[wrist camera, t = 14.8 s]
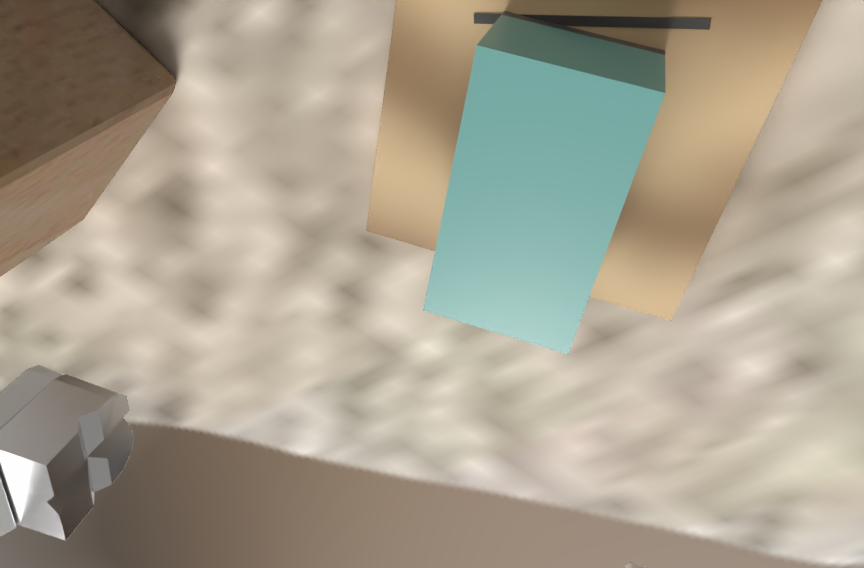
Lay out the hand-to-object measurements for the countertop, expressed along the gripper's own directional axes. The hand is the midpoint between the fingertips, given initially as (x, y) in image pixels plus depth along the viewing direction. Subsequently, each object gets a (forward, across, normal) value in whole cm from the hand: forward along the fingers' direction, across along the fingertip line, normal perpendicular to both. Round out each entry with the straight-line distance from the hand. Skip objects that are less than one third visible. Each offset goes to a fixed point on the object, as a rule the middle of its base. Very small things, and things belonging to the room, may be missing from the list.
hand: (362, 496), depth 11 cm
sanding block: (+16, -1, +1) cm, 16 cm away
